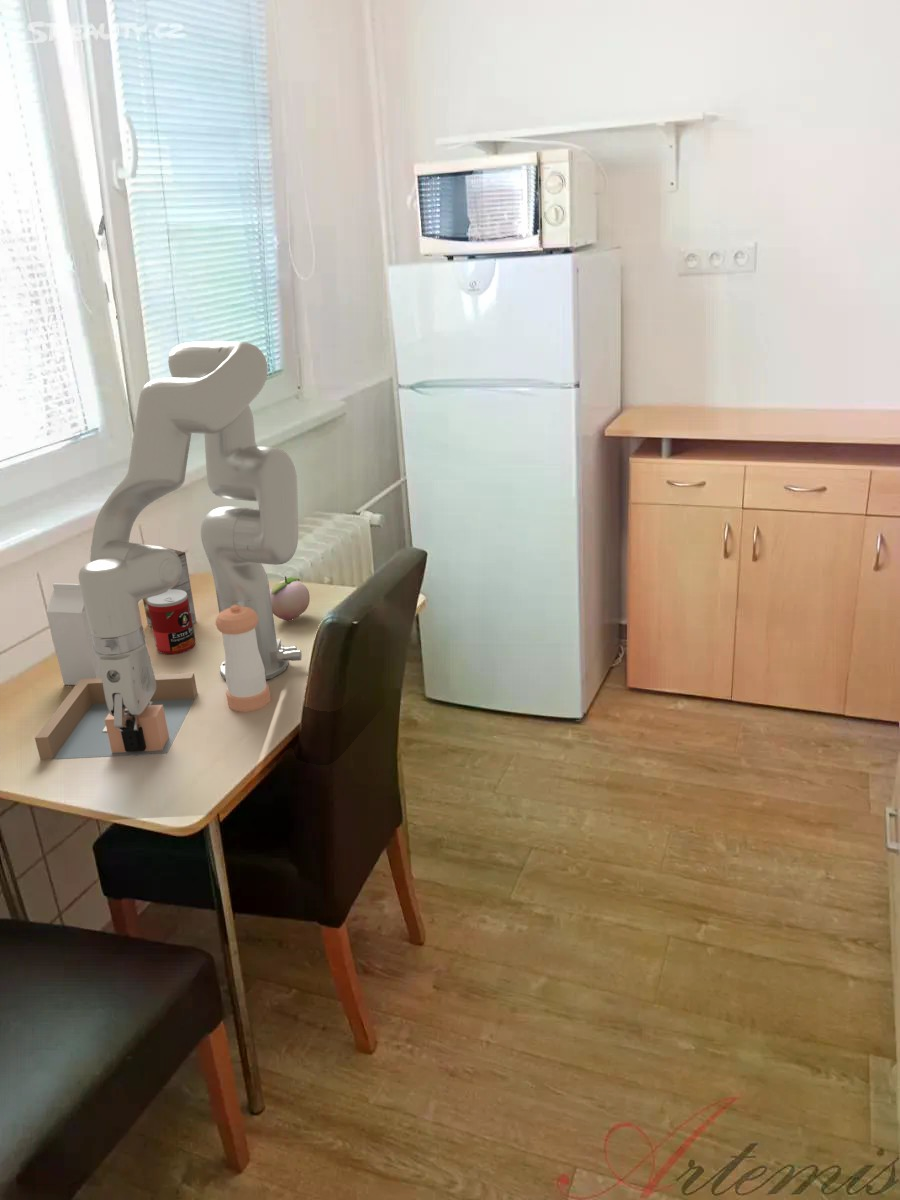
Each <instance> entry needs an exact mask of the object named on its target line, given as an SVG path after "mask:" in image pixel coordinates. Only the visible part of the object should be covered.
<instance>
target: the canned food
mask: <svg viewBox="0 0 900 1200" xmlns="http://www.w3.org/2000/svg"><path fill="white" fill-rule="evenodd" d="M147 601H148V602H147V603H148V609H149V614H150V619H151V624H152V626H151V628H152V633H153V638H154V643H155V647H156V649H157V651H158V652H159V653H160V654H164V655H177V654H178V655H179V654H183V653H185V652H188V651H190V650H191V649H193V648H194V646H195V644H196V638H195V637H196V636H195V632H194V631H195V630H194V626H193V625H194V624H192V618H191V612H190V606H189V601H188V596H187V593H186V592H185V591H183V590H177V589H170V590H169V591H167V592H165V593H162V594H159V595H156V596H152V597H149V598H147Z"/></svg>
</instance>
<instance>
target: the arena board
mask: <svg viewBox="0 0 900 1200" xmlns="http://www.w3.org/2000/svg"><path fill="white" fill-rule="evenodd" d="M154 676H155V680H156V691H155V693H154V694H153V696H152V698H151V700H150V701H149V703H150V705H163V708H164V713H165V719H166V724H167V729H168V734H169V738H168V740H167V742H166V744H165V746H164V748H163V750H157V751H137V752H118V753H112V750H111V746H110V741H109V737H108V733H107V728H106V724H105V718H106V717H107V715H108V714H109V711H108V708H107V704H106V699H105V694H104V689H103V682H102V678H87V679H80V680H79V682H78V683H77V684H76V685H74V687H73V688H72V689H71V691H70V692H69V693H68V694H67V696H66V697H65V698H64V699H63V701H62V702H61V703H60V705H59V706H58V708H56V710H55V711H54V712H53V714H52V715H51V717H50V718H49V719H48V720H47V721H46V723H45V724H44V725H43V727H42V728H41V729H40V730H39V732H38V733H37V734H36V735H35V736H34V739H35V744H36V748H37V752H38V756H39V760H40V761H48V760H53V761H54V760H66V759H67V760H70V759H88V758H108V757H125V756H144V755H147V756H148V755H164V754H167V753H169V750H170V749H171V747H172V744H173V742H174V741H175V738H176V737H177V734H178V733H179V730H180V729H181V726H182V724H183V723H184V721H185V719H186V717H187V715H188V713H189V711H190V709H191V706H192V705H193V703H194V701H195V699H196V697H197V695H198V690H197V689H198V688H197V682H196V677H195V672H184V673H167V674H166V673H164V674H154Z"/></svg>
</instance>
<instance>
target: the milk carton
mask: <svg viewBox="0 0 900 1200" xmlns="http://www.w3.org/2000/svg"><path fill="white" fill-rule="evenodd" d="M52 587H53V592H52V594H51V596H50V600H49V602H48V605H47V609H46V611H45V612H46V616H47V620H48V623H49V628H50V632H51V636H52V641H53V644H54V649H55V654H56V656H57V661H58V665H59V668H60V675H61V678H62V682H63V684H64V685H65V686H66V685H67V686H69V685H70V686H75V685H76V684H77V683H78V682H79V680H80V679H87V678H102V676H101V667H100V657H99V656H97V655H96V654H95V651H94V647H93V642H92V638H91V633H90V628H89V624H88V619H87V615H86V610H85V606H84V601H83V597H82V592H81V588H80V583H79V584H77V583H52Z"/></svg>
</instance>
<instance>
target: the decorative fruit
mask: <svg viewBox="0 0 900 1200" xmlns="http://www.w3.org/2000/svg"><path fill="white" fill-rule="evenodd" d="M270 597H271V604H272V611H273V616H275V617H277V618H279V619H280V620H282V621H283V620H284V621H286V622H287V621H288V622H290V621H289V620H292V619H293V620H295V619H297V618H298V617H300V615H301V616H302V614H303V613H305V612H306V610H307V609H308V608H309V605H310V597H311V596H310V592H309V589H308V587H307V586H306V585H305V584H304V583H302V582H301V579H300V578H299V577H295V576H290V577H288V578H287V576H284V579H283V580H281V581H280V582H278V583H277V584H275V585H273V587H272V588H271V589H270ZM293 620H292V621H293Z"/></svg>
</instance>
